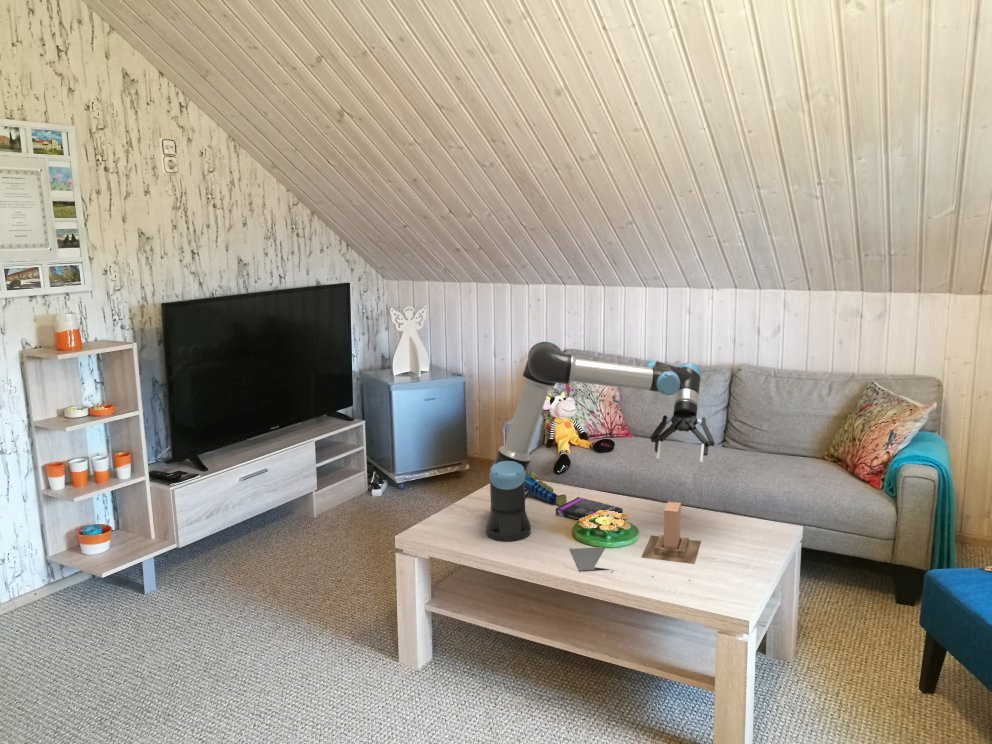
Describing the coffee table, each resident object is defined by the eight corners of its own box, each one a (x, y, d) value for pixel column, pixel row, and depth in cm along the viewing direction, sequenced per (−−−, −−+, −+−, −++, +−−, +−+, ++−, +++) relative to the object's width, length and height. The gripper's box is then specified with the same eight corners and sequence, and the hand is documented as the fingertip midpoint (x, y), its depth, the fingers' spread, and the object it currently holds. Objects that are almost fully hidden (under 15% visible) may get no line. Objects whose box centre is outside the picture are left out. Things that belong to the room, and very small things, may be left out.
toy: (534, 486, 316) (535, 463, 313) (579, 508, 297) (580, 483, 294) (507, 494, 307) (508, 470, 305) (552, 517, 288) (553, 491, 286)
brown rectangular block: (663, 553, 248) (664, 510, 245) (667, 543, 255) (668, 501, 252) (676, 554, 246) (677, 511, 244) (680, 544, 254) (680, 502, 251)
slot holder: (641, 561, 245) (641, 551, 245) (650, 539, 262) (651, 529, 261) (694, 568, 240) (694, 557, 239) (701, 545, 257) (701, 535, 256)
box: (555, 517, 286) (601, 529, 273) (555, 507, 286) (600, 519, 273) (578, 505, 296) (623, 516, 284) (578, 496, 296) (623, 507, 283)
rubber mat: (579, 571, 240) (579, 570, 240) (570, 550, 255) (570, 548, 255) (631, 568, 241) (631, 567, 241) (619, 547, 257) (619, 546, 257)
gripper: (725, 413, 265) (720, 470, 254) (649, 409, 274) (642, 464, 263) (724, 401, 260) (719, 459, 249) (647, 398, 268) (639, 453, 257)
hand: (679, 462), depth 256 cm, fingers open, 13 cm apart
